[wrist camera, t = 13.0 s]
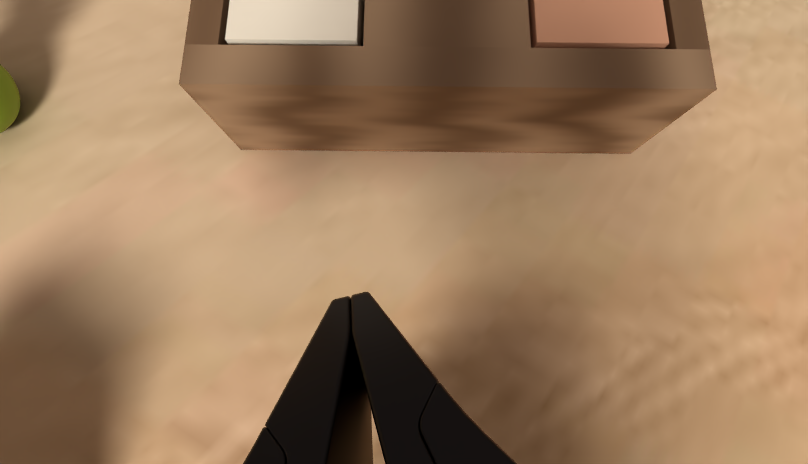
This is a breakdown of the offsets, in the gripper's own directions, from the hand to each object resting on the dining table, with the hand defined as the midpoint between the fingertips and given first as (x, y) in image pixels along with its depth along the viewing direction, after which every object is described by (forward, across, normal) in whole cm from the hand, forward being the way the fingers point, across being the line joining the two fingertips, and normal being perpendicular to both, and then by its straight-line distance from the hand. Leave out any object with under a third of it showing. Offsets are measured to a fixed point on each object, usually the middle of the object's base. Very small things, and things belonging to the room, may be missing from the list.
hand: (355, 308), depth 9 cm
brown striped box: (+20, -7, 0) cm, 21 cm away
